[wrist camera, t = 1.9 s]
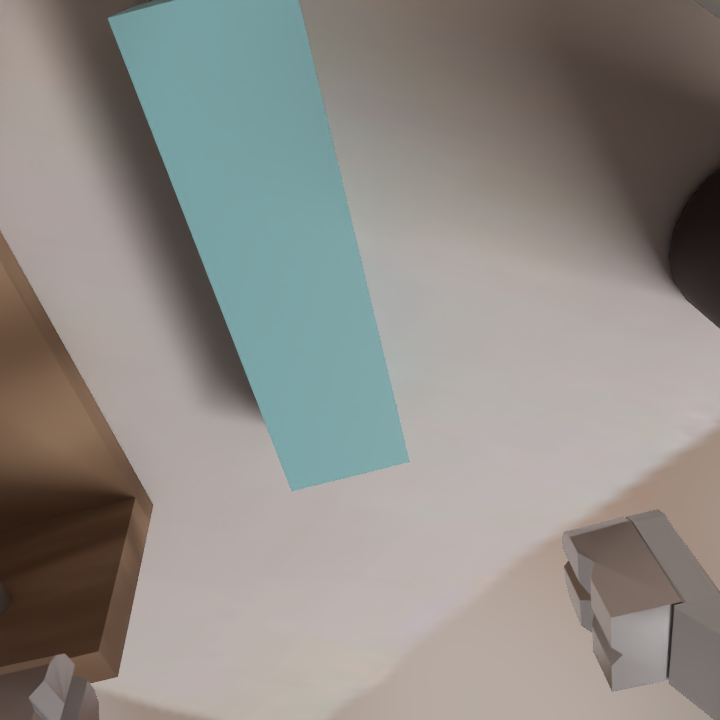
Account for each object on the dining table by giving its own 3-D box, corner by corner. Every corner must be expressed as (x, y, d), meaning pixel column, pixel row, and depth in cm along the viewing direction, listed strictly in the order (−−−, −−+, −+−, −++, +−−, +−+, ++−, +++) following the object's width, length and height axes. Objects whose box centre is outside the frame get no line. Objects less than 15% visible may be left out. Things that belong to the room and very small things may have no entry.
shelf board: (136, 5, 19) (107, 18, 15) (286, -36, 19) (291, -31, 15) (288, 424, 28) (291, 491, 24) (392, 398, 27) (409, 461, 24)
